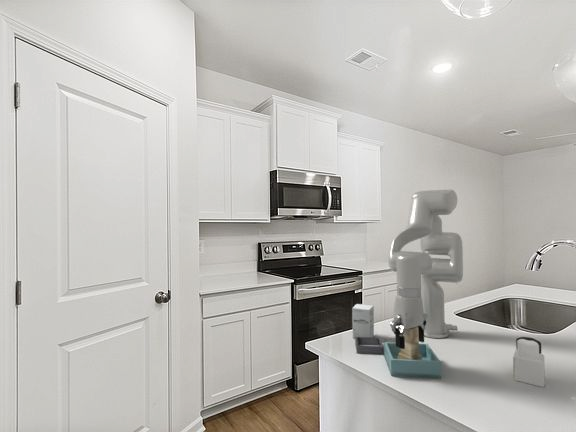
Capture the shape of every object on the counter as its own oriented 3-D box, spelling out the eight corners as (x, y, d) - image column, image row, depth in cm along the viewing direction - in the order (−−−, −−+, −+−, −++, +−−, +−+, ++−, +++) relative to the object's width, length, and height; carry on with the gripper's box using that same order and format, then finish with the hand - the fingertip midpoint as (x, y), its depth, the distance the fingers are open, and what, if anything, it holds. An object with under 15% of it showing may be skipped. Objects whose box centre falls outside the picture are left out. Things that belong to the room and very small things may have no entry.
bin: (427, 358, 114) (427, 343, 114) (441, 378, 100) (440, 361, 100) (384, 356, 116) (384, 342, 116) (391, 376, 102) (391, 359, 102)
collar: (380, 344, 127) (380, 337, 127) (383, 354, 118) (383, 347, 118) (355, 343, 129) (355, 336, 129) (356, 353, 119) (356, 346, 119)
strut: (408, 358, 112) (407, 323, 112) (421, 364, 107) (421, 327, 107) (398, 362, 109) (397, 326, 109) (411, 368, 104) (410, 330, 105)
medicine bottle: (516, 371, 103) (515, 333, 103) (544, 378, 99) (543, 338, 99) (513, 380, 98) (512, 340, 98) (544, 388, 93) (543, 345, 93)
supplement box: (352, 338, 134) (351, 307, 134) (357, 332, 140) (356, 303, 141) (370, 341, 130) (369, 309, 131) (374, 335, 137) (373, 305, 137)
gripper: (416, 287, 116) (417, 335, 116) (381, 293, 107) (382, 346, 107) (435, 290, 109) (436, 342, 109) (400, 298, 100) (401, 354, 100)
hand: (410, 344), depth 108 cm, fingers open, 9 cm apart
